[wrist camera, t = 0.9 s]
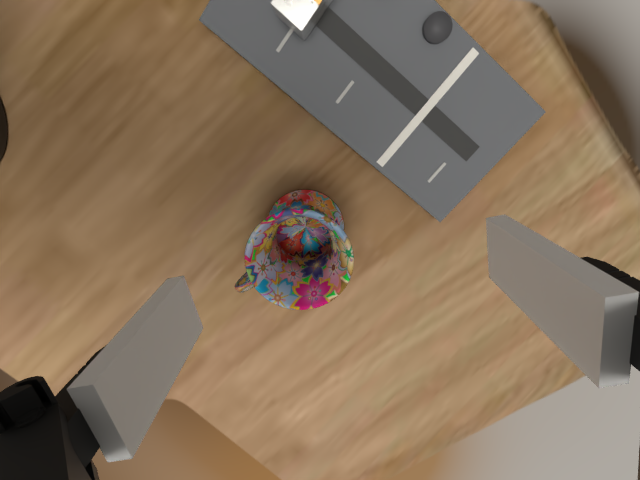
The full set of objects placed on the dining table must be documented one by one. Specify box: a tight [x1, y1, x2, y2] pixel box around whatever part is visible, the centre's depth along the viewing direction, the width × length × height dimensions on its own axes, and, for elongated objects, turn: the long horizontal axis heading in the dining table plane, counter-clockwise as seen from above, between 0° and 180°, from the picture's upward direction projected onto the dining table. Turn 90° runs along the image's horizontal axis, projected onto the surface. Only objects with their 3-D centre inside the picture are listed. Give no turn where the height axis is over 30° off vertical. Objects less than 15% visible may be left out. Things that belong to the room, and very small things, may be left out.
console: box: [199, 0, 545, 222], centre depth 33 cm, size 30×14×3 cm, turn 51°
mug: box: [235, 190, 354, 310], centre depth 36 cm, size 12×9×11 cm
